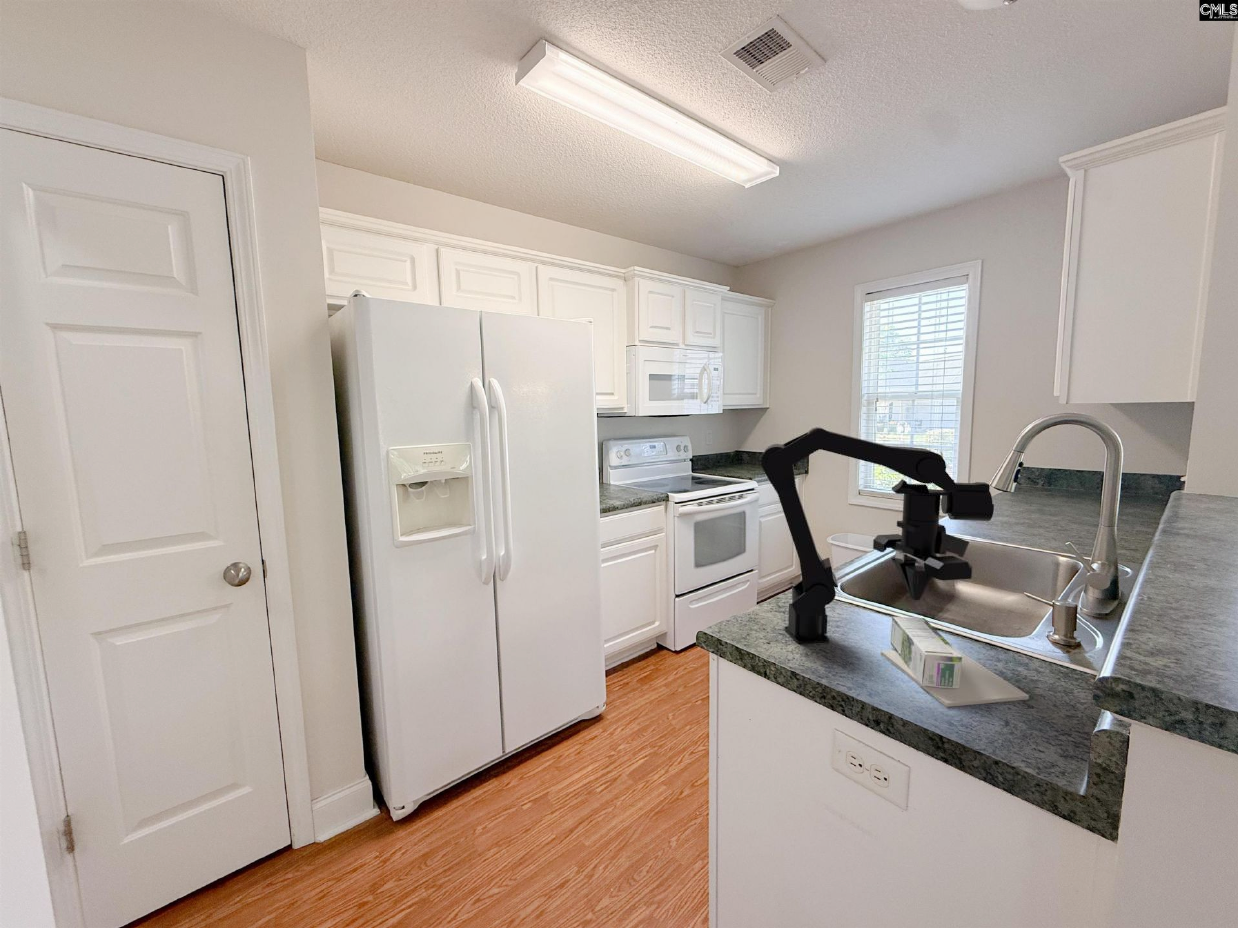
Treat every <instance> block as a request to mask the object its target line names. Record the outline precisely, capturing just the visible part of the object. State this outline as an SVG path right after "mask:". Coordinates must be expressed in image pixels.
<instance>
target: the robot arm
mask: <svg viewBox="0 0 1238 928" xmlns="http://www.w3.org/2000/svg"><path fill="white" fill-rule="evenodd" d="M764 449H765V450H764V451H763V453H762V455H761V457H760V466H761V467H762V470H763V471H764V474H765V475H766V477H767V479H768V481H769V483H770V484H771V486H772V487H773V488H774V491H775V492H776V494H777V497H778V499H779V502H780V504H781V509H782V510H783V514H784V517H785V521H786V523H787V526H788V530H789V533H790V536H791V539H792V542H793V545H794V547H795V550H796V553H797V557H798V560H799V567H800V573H801V574H800V575H801V580H799V582H797V583H796V584H795V585H793V586H791V603H788V620H787V625H785V626H784V628H783V629H784V630H785V632H787V634H788V635H789V636H790V637H791V638H792V639H793V640H794V641H795V642H796V643H797V644H811V643H823V642H825V643H826V642H829V641H830V638H829V637H828V636H827V633H828V618H829V617H828V616H829V615H828V614H827V612H826V611H827V609H826V606H828V605H830V604H831V603H832V602H833V601H834V599H835V598H836V596H837V595H836V588H837V589H838V588H839V585H838V580H837V577H836V574H835V573H834V571H833V568H832V562H831V560H830V557H827V558H824V559H823V558H822V556H821V555H820V553H819V552H818V550H817V547H816V543H815V541H814V537H813V533H812V531H811V527H810V525H809V523H808V519H807V517H806V513H805V510H804V506H803V504H802V502H801V498H800V494H799V492H798V488H797V483H796V476H795V469H794V464H796V463H798V462H800V461H802V460H804V459H805V458H807V457H809V456H810V455H812V454H814V453H815V452H818V451H820V450H821V451H825V452H829V453H834V454H837V455H841V456H845V457H848V458H852V459H855V460H859V461H864V462H867V463H870V464H875V465H879V466H881V467H882V466H883V467H885V468H887V469H889V470H892V471H894V472H896V473H898V474H900V475H903V476H904V477H907V478H909V479H912V480H914V481H916V482H919V484H918V483H916V484H915V483H908V482H907V480H904V479H900V481H899V482H898V483H896V484H895V485H893V486H891V490H892V491H893V493H894V494H896V495H903V500H902V501H903V503H902V505H903V506H902V518H901V519H902V520H897V521H896V527H897V528H900V529H901V534H899V533H894V534H893V533H892V534H889V533H888V534H877V535H876V536H875V538H874V539H873V542H872V545H873V546H872V549H873V550H875V551H877V552H880V553H885V552H886V550H887V549H892V550H893V551H894V553H895V555H894V557H893V558H891V559H890V560H891V563H893V564H894V566H895V568H896V570H897V571H898V574H899V575H900V577H901V579H902V581H903V584H904V586H905V589H906V590H907V591H908V594H909V596H910V598H911V599H912V600H914V601H920V600H921V598H922V597H923V594H924V593H925V590H926V589H927V587H928V585H929V583H930V582H931V580H932V578H933V579H936V580H937V581H956V580H957V581H958V580H971V579H972V578H973V566H972V564H970V562H969V561H966V560H964V559H961V558H964V557H965V554H966V552H967V549H968V547H969V544H970V541H968V540H965V539H962V538H959V537H957V536H954V535H951V534H949V533H947V528H946V527H945V525H943V524H940V510H941V512H942V514H945V515H947V518H949V520H952V521H953V520H954V521H955V520H956V521H969V522H970V521H974V522H990V521H991V520H992V518H993V515H994V511H995V504H994V503H993V496H992V494H991V491H990V486H991V485H990V484H989V483H987V482H985V481H984V482H981V481H978V482H976V481H975V482H955V480H954V479H953V478H952V477H951V475H949V473H948V471H946V470H947V464H946V461H945V459H944V457H943V456H942V455H941V454H939V453H937V452H934V451H933V450H929V449H927V448H923V447H914V446H913V447H912V446H897V445H896V446H894V445H885V444H881V443H878V442H874V441H870V440H866V439H862V438H857V437H854V436H850V435H846V434H842V433H838V432H833V431H830V430H827V429H825V428H822V427H812V428H811V429H809V430H808V431H807V432H805V433H803V434H800V435H799V436H797V437H795V438H793V439H790V440H788V441H787V442H784V443H783V444H782V443H774V444H771V445H769V446H767V447H766V448H764ZM928 484H929V485H930V484H933V485H934V486H936V487H938V488H940V489H932V488H929V487H928V486H927V485H928ZM947 552H948V553H950V554H954V555H957V556H958V557H956V556H954V555H947ZM938 555H945V556H938ZM959 557H960V558H959Z"/></svg>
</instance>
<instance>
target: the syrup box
mask: <svg viewBox="0 0 1238 928" xmlns="http://www.w3.org/2000/svg"><path fill="white" fill-rule="evenodd" d="M891 618H892V619H891V631H890V632H891V634H890V645H891V646H892V648H893V650H896V652H897V653H898V654H899V656H900V657H901V658H902V660H903V661H904V662H905V664H906V665H907V666H908V668H909V669H910V670H911V672H912V673H913V674H914V676H915V677H916V678H917V680H918V681H919V682H920V684H921V685H922V686H931V687H940V688H959V683H960V673H961V662H962V656H961V655H960V654H959V653H958V652H957V651H956V650H957V649H956V648H955V647H953V646H952V644H951V643H949V642H948V641H947V639H946V638H945V637H944V636H943V635H942V634H941V633H940V632H939V631H938V630H936V628H935V627H934V626H933V625H932V624H931V623H930V622H929V621H928V620H927V619H926V618H924V617H910V616H907V617H906V616H892V617H891Z"/></svg>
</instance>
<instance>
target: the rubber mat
mask: <svg viewBox="0 0 1238 928" xmlns="http://www.w3.org/2000/svg"><path fill="white" fill-rule="evenodd" d="M956 651H957V652H958V653H959V654H960V655H961V656H962V662H961V673H960V683H959V688H940V687H931V686H922V685H921V684H920V682H919V681H918V680H917V678H916V677H915V676H914V674H913V673H912V672H911V670H910V669H909V668H908V666H907V665H906V664H905V662H904V661H903V660H902V658H901V657H900V656H899V654H898V653H897V652H896V650H895V649H893V650H882V651H880V655H881V656H883V658H884V659H886V660H887V661H888V662H890V663H891V665H893V666H895V667H896V668H897V669H898V670H900V671H901V672H902V673H903V674H904V675H906V676H907V677H909V678H910V679H911V680H912V681H913V682H914V683H916V684H917V685H918V686H920V687H921V688H922V689H923V690H924V691H926V692H927V693H928V694H930V695H931V696H932V697H933V698H935V700H937V701H939V702H940V703H941V704H942V705H943V706H944V707H946V708H949V707H950V708H951V707H960V706H970V705H984V704H991V703H1004V702H1012V701H1014V702H1016V701H1024V700H1025V701H1026V700H1029V698H1030V695H1029V694H1027V693H1025V692H1024V691H1022V690H1021V689H1019V688H1018V687H1016V686H1014V685H1013V684H1011V683H1010V682H1008V681H1006V680H1005V679H1003V678H1002V677H1001V676H999V675H997V674H996V673H994V672H992V671H991V670H989V669H988V668H986V667H984V666H983V665H981V664H980V663H978V662H977V661H975V660H973V659H972V658H970V657H969V656H967V655H965V654H964V653H962V652H961V651H959V650H957V649H956Z"/></svg>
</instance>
